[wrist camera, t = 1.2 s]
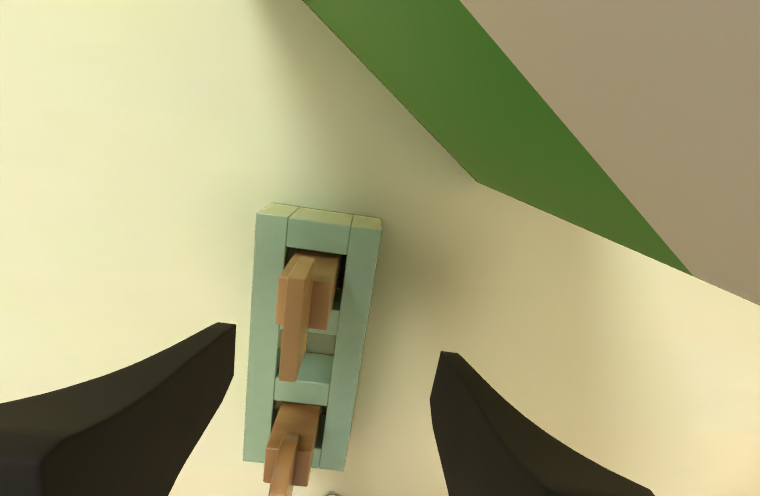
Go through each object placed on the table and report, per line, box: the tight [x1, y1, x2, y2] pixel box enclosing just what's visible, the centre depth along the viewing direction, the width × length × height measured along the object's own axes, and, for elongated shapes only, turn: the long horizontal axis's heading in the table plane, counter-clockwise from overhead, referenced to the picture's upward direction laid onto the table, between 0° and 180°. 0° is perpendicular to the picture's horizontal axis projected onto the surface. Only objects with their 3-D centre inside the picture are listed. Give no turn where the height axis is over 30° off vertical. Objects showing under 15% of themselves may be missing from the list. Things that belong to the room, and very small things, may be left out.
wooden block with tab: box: [263, 401, 323, 496], centre depth 21 cm, size 2×4×8 cm, turn 171°
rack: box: [243, 203, 382, 471], centre depth 22 cm, size 6×16×3 cm, turn 172°
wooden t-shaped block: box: [275, 249, 342, 382], centre depth 18 cm, size 2×5×8 cm, turn 171°
